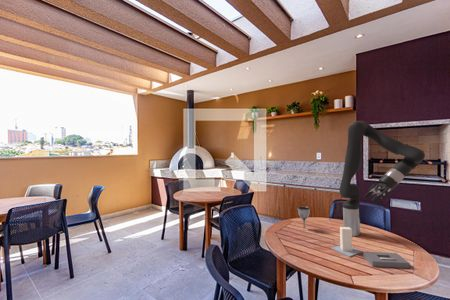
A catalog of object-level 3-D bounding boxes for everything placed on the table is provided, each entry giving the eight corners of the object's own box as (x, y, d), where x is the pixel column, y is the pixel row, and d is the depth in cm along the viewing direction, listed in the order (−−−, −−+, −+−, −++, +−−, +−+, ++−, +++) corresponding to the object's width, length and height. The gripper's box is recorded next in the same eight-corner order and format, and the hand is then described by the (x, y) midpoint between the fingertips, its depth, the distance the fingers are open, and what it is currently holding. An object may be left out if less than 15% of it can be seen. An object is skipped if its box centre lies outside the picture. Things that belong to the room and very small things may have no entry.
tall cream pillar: (349, 248, 123) (349, 227, 123) (352, 251, 120) (351, 229, 120) (340, 247, 124) (339, 226, 124) (342, 250, 121) (342, 229, 121)
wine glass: (309, 227, 159) (309, 206, 159) (310, 231, 152) (309, 209, 151) (298, 226, 162) (297, 206, 162) (298, 230, 154) (297, 209, 154)
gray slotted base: (396, 257, 112) (396, 251, 112) (409, 268, 103) (409, 261, 103) (362, 256, 115) (362, 250, 115) (372, 266, 105) (372, 259, 105)
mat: (344, 244, 129) (343, 243, 129) (362, 252, 119) (362, 251, 119) (331, 248, 125) (331, 247, 125) (349, 257, 115) (349, 256, 115)
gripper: (378, 172, 125) (357, 192, 127) (393, 175, 111) (370, 197, 113) (389, 181, 124) (368, 201, 126) (405, 185, 110) (381, 208, 112)
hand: (369, 199), depth 120 cm, fingers open, 8 cm apart
